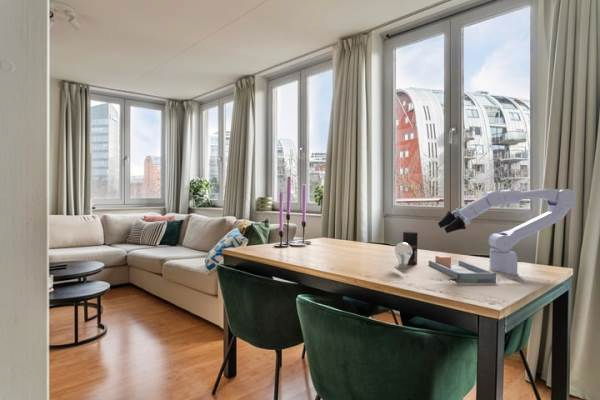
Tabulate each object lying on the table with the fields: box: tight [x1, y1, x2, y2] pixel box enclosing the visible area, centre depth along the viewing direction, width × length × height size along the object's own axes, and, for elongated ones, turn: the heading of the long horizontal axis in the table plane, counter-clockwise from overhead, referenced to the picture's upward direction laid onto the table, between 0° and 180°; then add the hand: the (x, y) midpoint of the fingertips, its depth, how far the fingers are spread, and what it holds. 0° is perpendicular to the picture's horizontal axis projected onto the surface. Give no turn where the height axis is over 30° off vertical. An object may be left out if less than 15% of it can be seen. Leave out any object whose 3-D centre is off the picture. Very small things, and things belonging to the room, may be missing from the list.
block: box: [434, 254, 452, 268], centre depth 155 cm, size 4×4×4 cm
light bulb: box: [394, 241, 412, 270], centre depth 153 cm, size 7×7×12 cm
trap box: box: [428, 259, 497, 284], centre depth 147 cm, size 14×26×4 cm, turn 3°
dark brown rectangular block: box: [402, 231, 419, 266], centre depth 162 cm, size 6×6×15 cm
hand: (442, 228), depth 154 cm, fingers open, 7 cm apart
